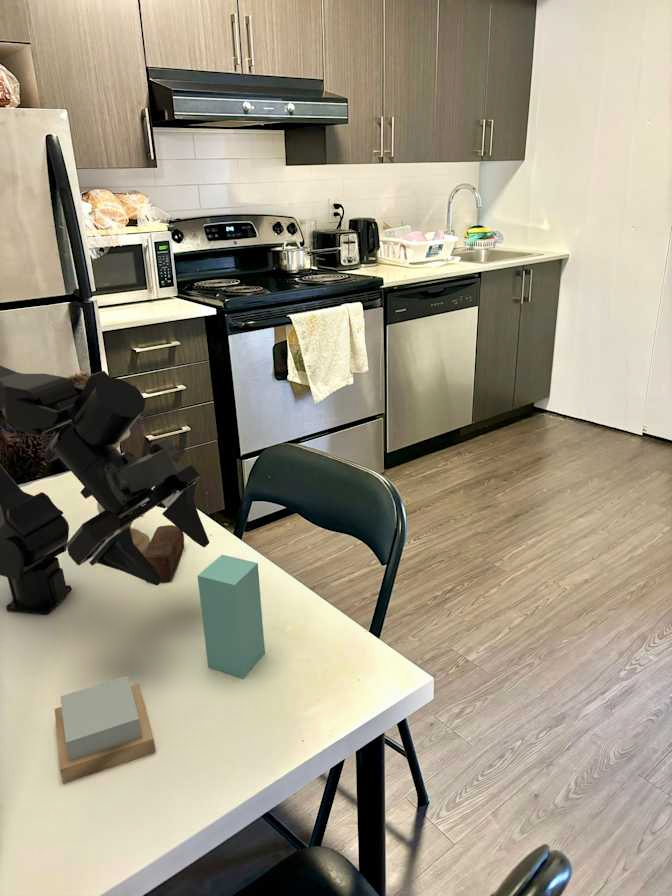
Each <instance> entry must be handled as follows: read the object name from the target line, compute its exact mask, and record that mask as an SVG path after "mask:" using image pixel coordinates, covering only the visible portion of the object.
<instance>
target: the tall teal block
mask: <svg viewBox="0 0 672 896" xmlns="http://www.w3.org/2000/svg"><path fill="white" fill-rule="evenodd" d="M259 573H260V572H259V563H258V562H254V561H252V560H246V559H244V558H243V559H242V558H239V557H235V556H234V557H233V556H229V555H225V554H221V555H220V556H218V557H217V558H216V559H215V560H214V561H212V563H210V564H209V565H208V566H207V567H205V568H204V569H203V570H202V571H201V572H200V573H199V574H197V584H198V585H197V586H198V592H199V600H200V609H201V618H202V619H201V620H202V625H203V626H202V627H203V635H204V645H205V653H206V662H207V668H208V669H212V670H214V671H217V672H221V673H224V674H228V675H230V676H234V677H236V678H240V679H245V678H246V676H248V674H249V673H250V672H251V670H253V668H254V667H255V666H256V665H257V663H258V662H259V661H260V660H261V659H262V657H264V656H265V654H266V651H265V649H266V648H265V638H264V625H263V614H262V613H263V612H262V611H263V610H262V599H261V588H260V584H261V583H260V574H259Z"/></svg>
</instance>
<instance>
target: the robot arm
mask: <svg viewBox="0 0 672 896" xmlns="http://www.w3.org/2000/svg"><path fill="white" fill-rule="evenodd" d="M145 405H146V404H145V399H144V396H143V394H142V393H141V392H140V390H139V389H138V388H137V387H136V386H135V385H132V384H130V383H129V382H127V381H125V380H124V379H122V378H121V379H120V378H116V377H111V376H110V375H109V374H108V373H107V371H105V370H102V371H98V372H95V373H92V374H91V375H90V376H89V377H88V379H87V380H86V383H85V385H84V387H83V386H79V385H76V384H75V383H73V382H72V381H71V380H69V379H68V378H66V377H64V376H59V375H54V374H49V373H22V372H17V371H15V370H14V369H9V368H7V367H4V366H2V365H0V410H1V412H2V415H3V416H4V419H5V421H6V422H8V423H9V424H11V425H12V426H14V427H16V428H17V429H18V430H20V431H22V432H24V433H25V434H26V435H29V436H33V437H36V436H40V435H42V434H45V433H46V432H47V433H48V432H50V431H51V430H55V429H56V428H59V427H62V426H63V427H62V428H60V429H59V431H58V432H57V434H55V435H54V436H51V437H48V438H46V439H45V441H44V442H45V452H44V459H45V461H46V463H51V462H52V461H53V462H54V460H57V459H58V458H59V460H61V462H62V463H63V464H64V465H65V467H67V468H68V469H69V471H70V472H71V473H72V474H73V475H74V476H75V478H76V479H77V480H78V481H79V482H80V483H81V485H82V486H83V488H82V489H81V491H80V494H81V496H83V498H84V499H86V500H87V499H88V498H89V497H93V498H94V500H95V501H96V503H97V502H98V503H99V504H100V505H101V506H102V507H103V508H104V510H105V511H103V512H101V513H100V514H99V513H98V514H97V515H95V516H93V517H91V518H90V519H88V520H87V521H85V522H83V523H82V524H81V526H80V527H79V528H78V529H77V530H76V531H75V533H74V534H72V537H71V538H70V539H69V534H70V526H69V523H68V521H67V519H66V518H65V516H63V515H64V512H63V511H62V510H61V509H60V508H58V507H57V505H55V503H54V501H53V500H52V499H51V498H50V497H49V495H48V494H47V493H45V492H42V491H41V492H39V493H37V494H35V495H33V494H30V493H27V492H25V491H23V490H22V488H21V487H20V486H19V485H18V484H17V483H16V482H15V480H14V479H13V478H12V477H11V476H10V474H9V473H8V472H7V471H6V470H5V469H4V468H3V466H2V465H1V464H0V576H2V577H4V578H7V582H8V586H9V589H10V594H11V599H12V600H11V601H10V602H9V603H8V604H6V605H5V609H6V611H9V612H19V613H21V612H22V613H27V614H29V613H30V614H39V615H47V614H49V613H50V612H51V611H52V610H53V609H54V608H55V607H56V606H57V605H58V604H59V603H61V601H62V600H63V599H64V598H65V597H66V596H67V595H68V594H69V593H70V592H71V590H72V586H71V585H68V584H67V583H66V578H65V574H64V569H63V568H61V566H60V562H59V558H58V557H57V556H59V555H60V554H62V553H65V552H66V551H67V553H68V554H67V555H68V556H69V557H70V558H71V559H72V561H73V562H74V563H75V564H76V565H77V566H79V567H80V566H82V565H83V564H84V563H86V562H87V561H88V560H90V561H89V562H88V564H89V565H90V566H92V567H93V566H94V565H97V564H98V565H102V566H105V567H109V568H112V569H114V570H118V571H120V572H123V573H126V574H128V575H131V576H133V577H136V578H137V579H140V580H142V581H144V582H146V583H147V582H149V583H150V584H152V585H154V586H159V585H160V584H161V583H163V582H162V581H163V580H162V578H161V576H160V575H159V573H158V572H157V570H156V569H155V568H154V567H153V566H152V564H151V563H150V562H149V561H148V560H147V559H146V557H145V556H144V554H142V553H141V551H140V550H139V549H138V548H137V547H136V546H135V544H134V543H133V540H132V536H131V532H130V528H129V527H127V528H126V529H124V530H123V531H121V530H120V529H122V528H123V527H125V526H126V525H128V524H129V523H131V522H132V521H133V522H134V521H135V520H136V519H139V518H138V517H140V516H141V515H142V516H144V514H146V513H147V512H149V511H150V510H152V509H154V508H156V507H158V508H161V509H164V511H163V512H162V513H161V515H162V516H163V517H165V518H166V519H167V520H168V521H169V522H170V523H172V525H174V526H177V527H178V528H179V529H180V530H181V531H183V534H184V535H186V536H187V537H188V538H190V539H191V540H192V541H193V542H194V543H195V544H197V545H199V546H201V547H202V548H206V547H207V546H208V545H209V544H210V540H209V537H208V535H207V532H206V530H205V527H204V525H203V522H202V520H201V518H200V515H199V512H198V510H197V506H196V502H195V497H196V489H198V488H199V482H198V480H199V478H201V474H200V473H199V472H198V471H197V469H196V468H195V467H194V466H193V465H192V464H189V463H184V462H183V463H181V464H179V465H178V466H177V464H176V463H178V462H179V461H181V458H182V457H181V453H180V452H179V450H178V448H177V447H176V446H175V445H174V444H173V443H172V442H171V441H170V440H169V439H168V438H167V437H166V438H165V437H164V439H160V440H158V441H156V442H154V443H152V444H151V445H150V446H149V454H147V455H145V456H143V457H141V458H138V457H137V456H136V455H135V454H134V453H132V452H130V451H127V452H126V453H125V452H124V453H125V454H124V453H123V455H122V453H121V452H120V451H119V449H118V448H116V447H115V446H114V445H113V444H116V443H118V442H119V441H120V440H121V439H122V437H123V436H124V435H125V434H126V432H127V431H128V430H130V429H131V427H132V426H133V424H135V422H136V421H137V420H138V418H139V417H140V416H141V414H142V413H143V412H144V409H145ZM91 558H92V559H91ZM149 583H148V584H149Z"/></svg>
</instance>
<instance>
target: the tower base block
mask: <svg viewBox="0 0 672 896" xmlns="http://www.w3.org/2000/svg"><path fill="white" fill-rule="evenodd" d="M130 686H131V690H132V694H133V697H134V701H135V705H136V709H137V713H138V717H139V722H140V727H141V733H142V738H139V739H136V740H133V741H130V742H127V743H124V744H121V745H118V746H115V747H112V748H109V749H106V750H103V751H100V752H97V753H94V754H91V755H88V756H85V757H82V758H79V759H76V760H73V761H70V758H69V754H68V750H67V745H66V740H65V731H64V723H63V714H62V706H60V707H56V708H54V715H55V716H54V717H55V728H56V739H57V751H58V761H59V771H60V774H61V779H62V783H63V785H65V784H67V783H70V782H73V781H76V780H80V779H83V778H85V777H88V776H91V775H93V774H96V773H100V772H102V771H106V770H108V769H111V768H113V767H117V766H120V765H123V764H125V763H129V762H132V761H136V760H138V759H140V758H144V757H146V756H149V755H152V754H155V753H156V748H155V747H156V746H155V739H154V735H153V731H152V727H151V725H150V724H151V723H150V720H149V716H148V713H147V708H146V705H145V701H144V697H143V693H142V690H141V687H140V683H137V684H133V685H130Z"/></svg>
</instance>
